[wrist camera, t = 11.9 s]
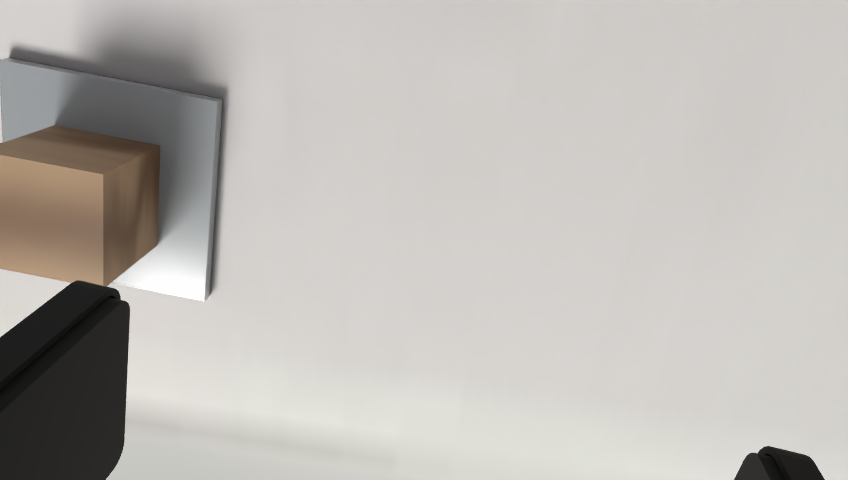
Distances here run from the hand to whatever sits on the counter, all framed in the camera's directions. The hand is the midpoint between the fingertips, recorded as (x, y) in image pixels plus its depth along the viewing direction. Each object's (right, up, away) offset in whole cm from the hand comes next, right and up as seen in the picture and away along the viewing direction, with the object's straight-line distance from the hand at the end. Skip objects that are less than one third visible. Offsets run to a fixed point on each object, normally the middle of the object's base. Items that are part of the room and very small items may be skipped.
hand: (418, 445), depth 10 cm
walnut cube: (-18, +6, +29) cm, 34 cm away
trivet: (-18, +6, +30) cm, 35 cm away
